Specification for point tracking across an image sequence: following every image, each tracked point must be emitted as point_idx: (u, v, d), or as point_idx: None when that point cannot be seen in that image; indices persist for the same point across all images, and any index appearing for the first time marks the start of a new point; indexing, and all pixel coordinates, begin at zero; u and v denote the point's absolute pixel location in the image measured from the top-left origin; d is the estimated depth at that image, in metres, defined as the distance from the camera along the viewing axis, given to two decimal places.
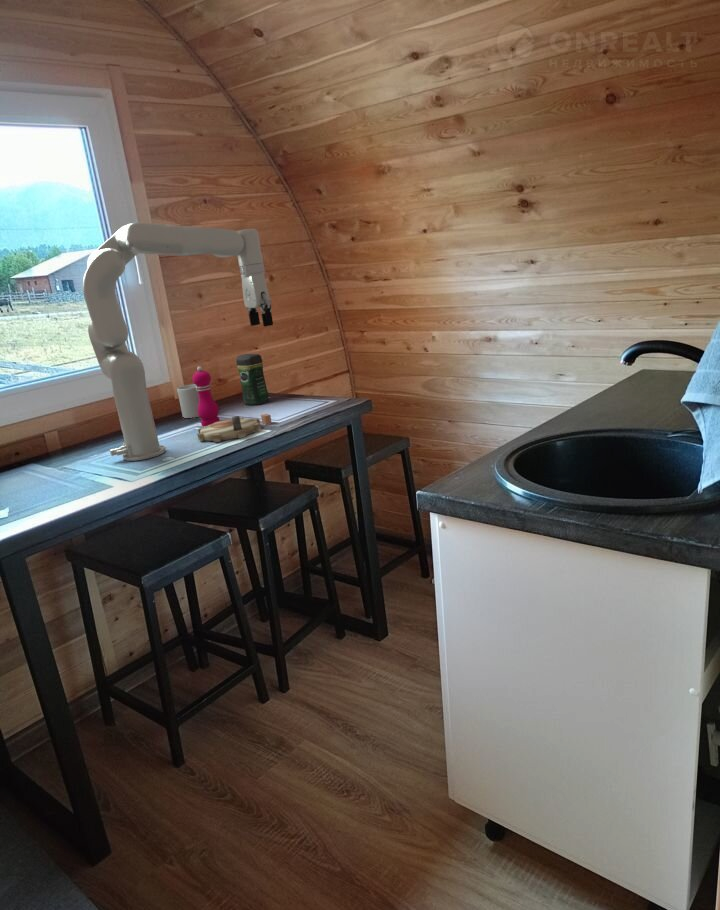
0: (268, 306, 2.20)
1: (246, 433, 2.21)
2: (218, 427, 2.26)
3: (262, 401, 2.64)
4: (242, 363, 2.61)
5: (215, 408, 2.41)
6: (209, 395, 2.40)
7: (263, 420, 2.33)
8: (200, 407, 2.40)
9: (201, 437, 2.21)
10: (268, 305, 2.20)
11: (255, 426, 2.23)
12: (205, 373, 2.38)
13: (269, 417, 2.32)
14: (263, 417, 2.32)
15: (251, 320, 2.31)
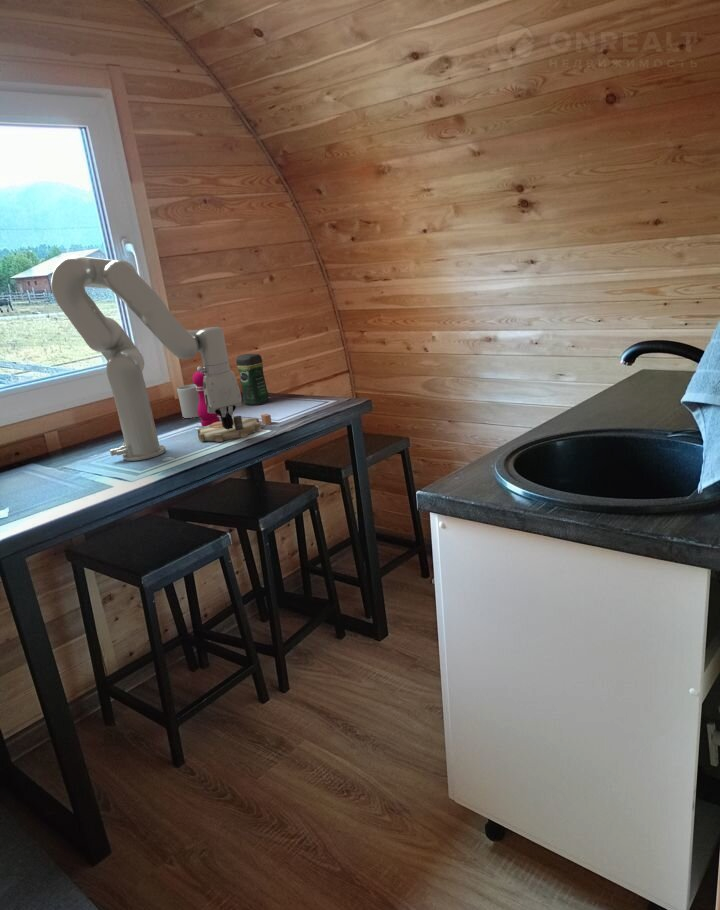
0: None
1: (248, 432, 2.21)
2: (218, 427, 2.26)
3: (262, 401, 2.64)
4: (242, 363, 2.61)
5: None
6: None
7: (263, 420, 2.33)
8: (200, 407, 2.40)
9: (202, 437, 2.21)
10: None
11: (256, 425, 2.24)
12: None
13: (269, 417, 2.32)
14: (263, 417, 2.32)
15: (228, 423, 2.17)
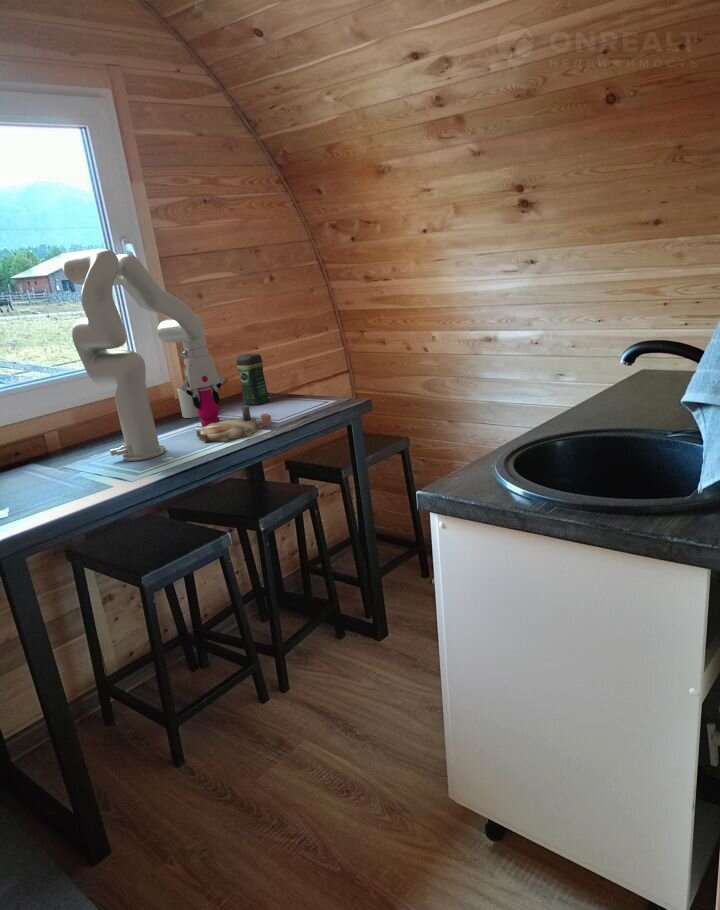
0: None
1: None
2: (230, 427, 2.24)
3: (262, 401, 2.64)
4: (242, 363, 2.61)
5: (215, 408, 2.41)
6: (209, 395, 2.40)
7: (263, 420, 2.33)
8: (200, 407, 2.40)
9: None
10: None
11: None
12: None
13: (269, 417, 2.32)
14: (263, 417, 2.32)
15: None
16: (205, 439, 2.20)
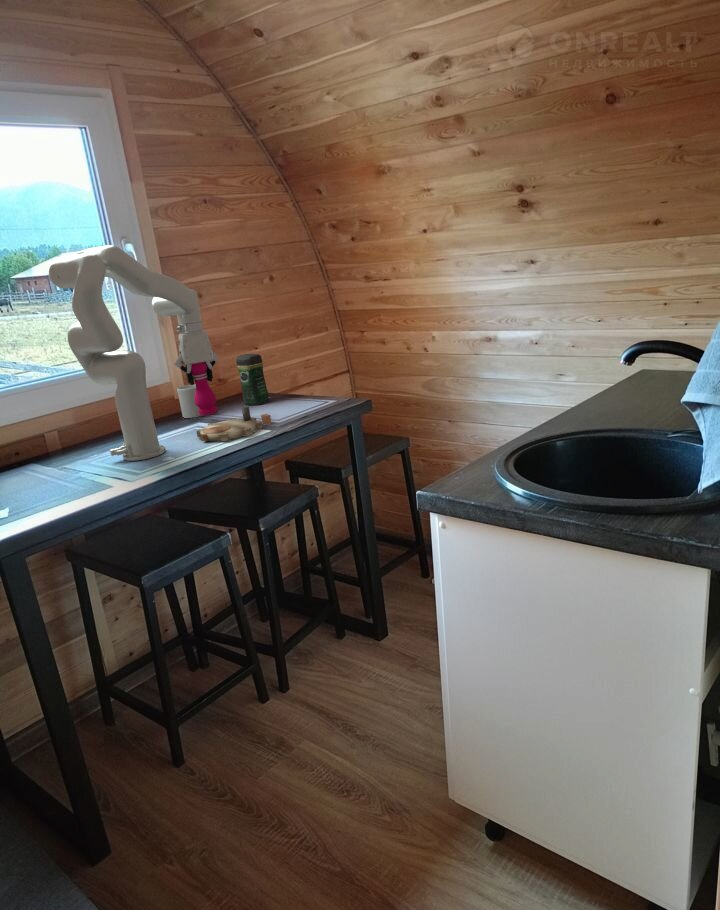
0: (214, 362, 2.41)
1: None
2: (230, 427, 2.24)
3: (262, 401, 2.64)
4: (242, 363, 2.61)
5: (212, 396, 2.40)
6: (206, 384, 2.39)
7: (263, 420, 2.33)
8: (197, 396, 2.39)
9: None
10: None
11: None
12: None
13: (269, 417, 2.32)
14: (263, 417, 2.32)
15: None
16: (205, 439, 2.20)
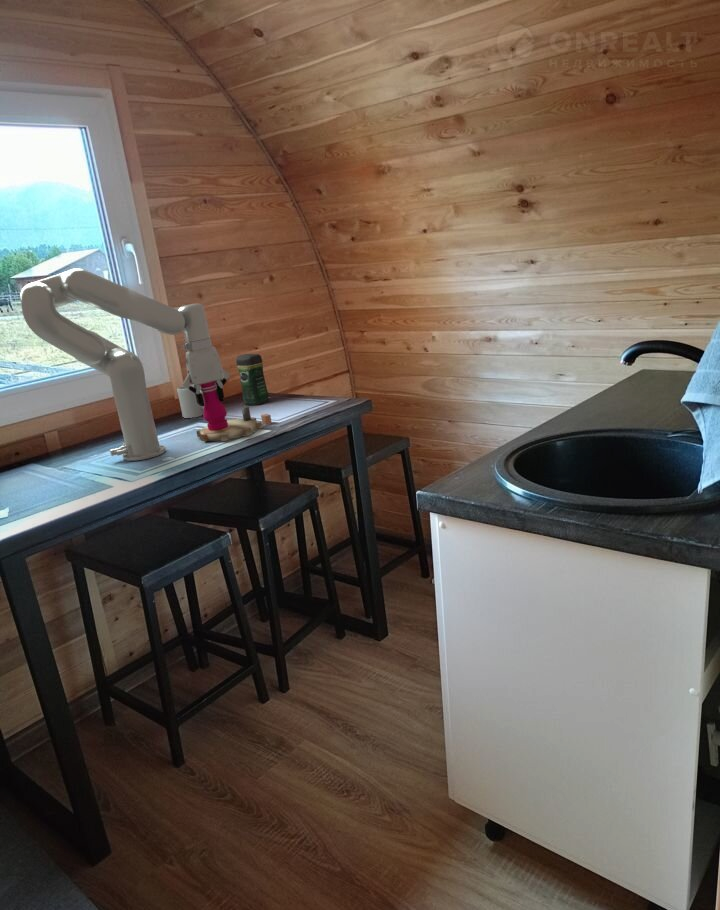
0: None
1: None
2: (230, 427, 2.24)
3: (262, 401, 2.64)
4: (242, 363, 2.61)
5: (222, 409, 2.22)
6: (215, 396, 2.21)
7: (263, 420, 2.33)
8: (206, 409, 2.21)
9: None
10: None
11: None
12: None
13: (269, 417, 2.32)
14: (263, 417, 2.32)
15: None
16: (205, 439, 2.20)
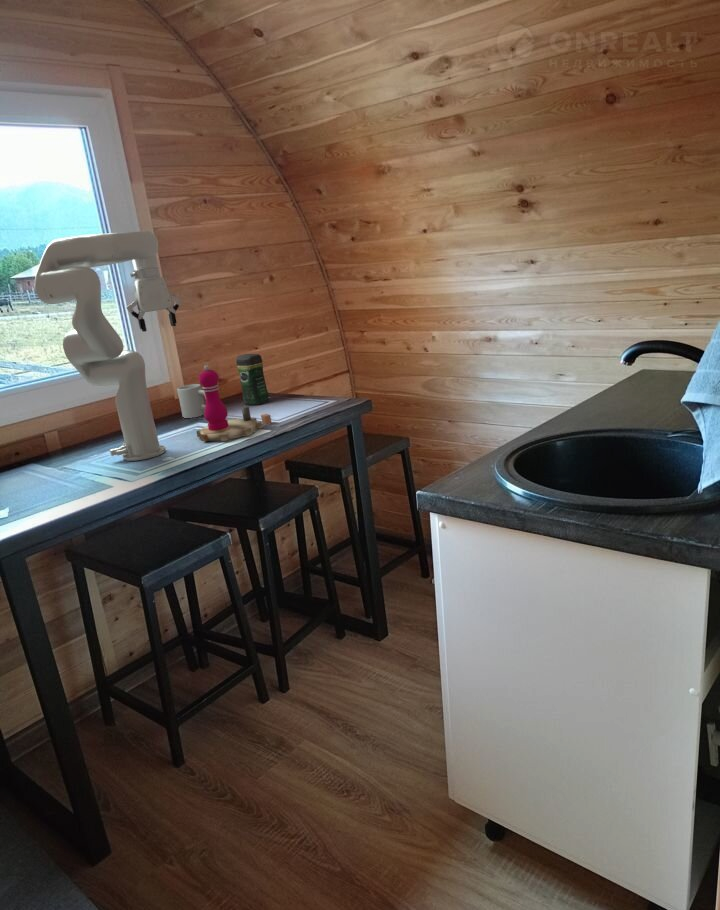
0: None
1: None
2: (230, 427, 2.24)
3: (262, 401, 2.64)
4: (242, 363, 2.61)
5: (223, 410, 2.22)
6: (217, 396, 2.21)
7: (263, 420, 2.33)
8: (207, 409, 2.21)
9: None
10: None
11: None
12: (212, 373, 2.19)
13: (269, 417, 2.32)
14: (263, 417, 2.32)
15: (145, 325, 2.28)
16: (205, 439, 2.20)
